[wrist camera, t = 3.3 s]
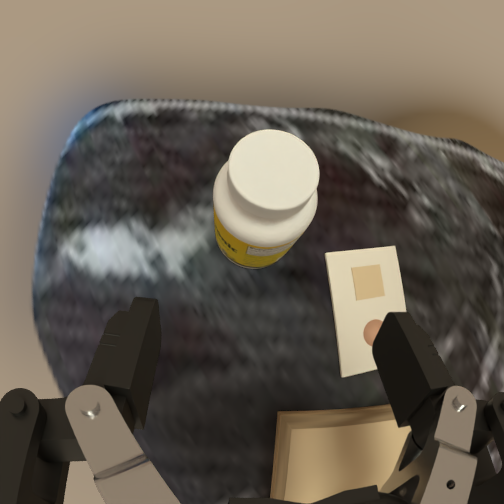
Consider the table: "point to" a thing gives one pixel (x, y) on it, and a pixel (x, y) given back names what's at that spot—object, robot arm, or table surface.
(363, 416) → the beech block
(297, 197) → the supplement bottle
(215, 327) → the table surface
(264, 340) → the table surface
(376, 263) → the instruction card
